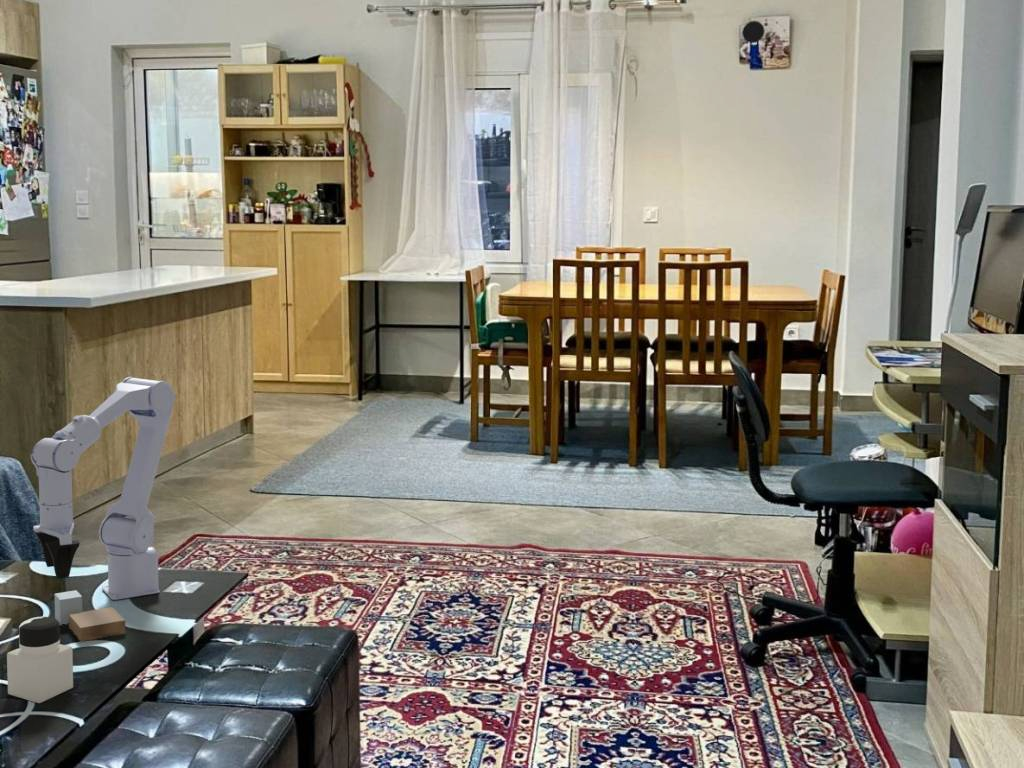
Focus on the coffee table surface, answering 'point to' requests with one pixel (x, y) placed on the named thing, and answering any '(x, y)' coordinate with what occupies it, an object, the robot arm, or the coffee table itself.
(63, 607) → the cube
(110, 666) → the coffee table surface
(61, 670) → the medicine bottle
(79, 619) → the base slab
